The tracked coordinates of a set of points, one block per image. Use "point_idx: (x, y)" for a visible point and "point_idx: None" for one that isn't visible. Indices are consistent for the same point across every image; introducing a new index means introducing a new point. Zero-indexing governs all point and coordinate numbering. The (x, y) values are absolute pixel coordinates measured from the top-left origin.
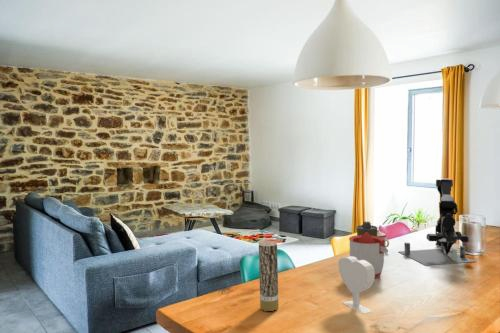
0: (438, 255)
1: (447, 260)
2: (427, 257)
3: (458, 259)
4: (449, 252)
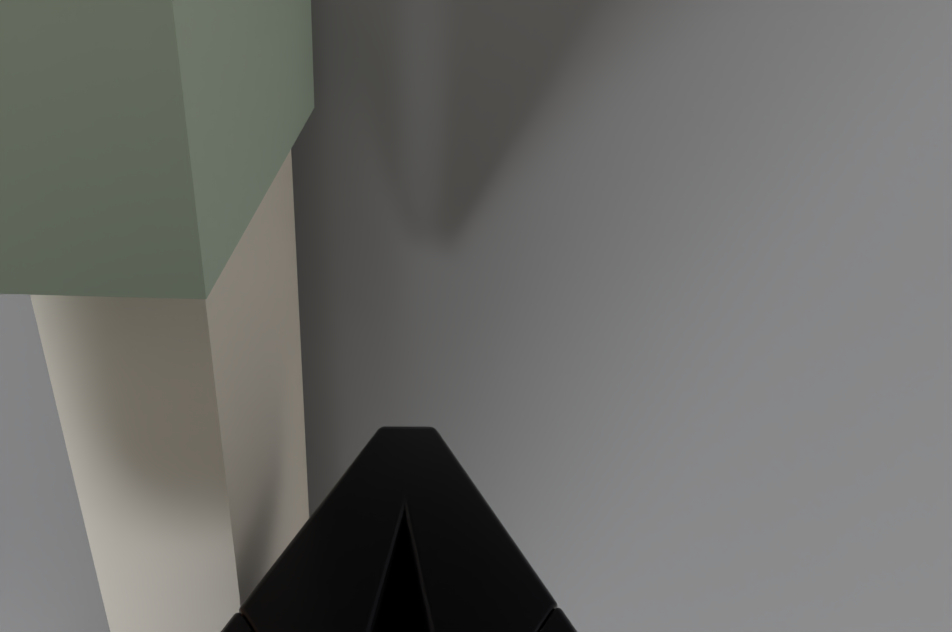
0: None
1: (476, 133)
2: (942, 433)
3: None
4: None
